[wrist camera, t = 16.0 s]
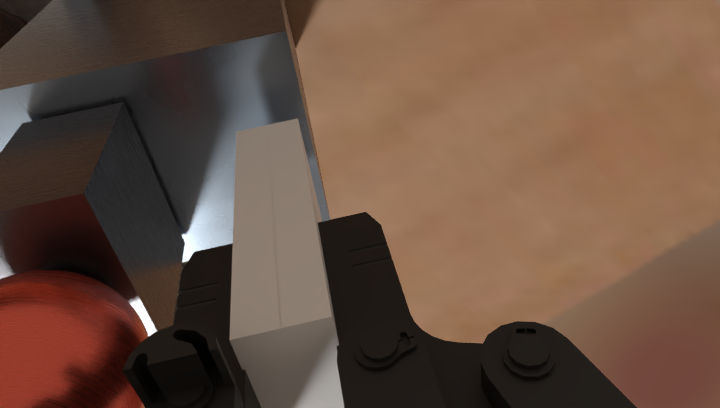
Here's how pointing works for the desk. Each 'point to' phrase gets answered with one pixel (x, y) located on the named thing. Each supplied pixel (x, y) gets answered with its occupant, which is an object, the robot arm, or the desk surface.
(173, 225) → the lever
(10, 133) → the press
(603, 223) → the desk surface
